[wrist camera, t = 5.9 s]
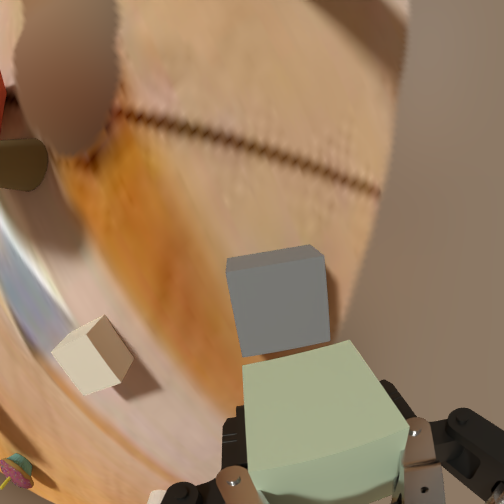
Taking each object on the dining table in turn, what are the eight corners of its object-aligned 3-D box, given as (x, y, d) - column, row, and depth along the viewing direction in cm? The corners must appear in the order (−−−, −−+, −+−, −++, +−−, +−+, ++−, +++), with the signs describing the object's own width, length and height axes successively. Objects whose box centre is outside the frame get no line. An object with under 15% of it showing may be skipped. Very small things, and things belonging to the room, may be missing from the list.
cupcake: (2, 442, 34) (-20, 475, 22) (29, 454, 35) (6, 491, 23) (19, 466, 36) (1, 499, 24) (46, 477, 36) (28, 514, 25)
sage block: (242, 365, 13) (248, 472, 7) (349, 339, 13) (409, 426, 7) (263, 435, 14) (274, 526, 8) (352, 413, 14) (392, 494, 8)
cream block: (70, 331, 29) (50, 352, 24) (104, 313, 29) (85, 334, 24) (99, 372, 30) (83, 395, 26) (134, 357, 30) (121, 382, 25)
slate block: (227, 257, 28) (225, 272, 24) (309, 244, 29) (324, 255, 24) (241, 331, 30) (242, 357, 25) (316, 318, 30) (330, 340, 25)
